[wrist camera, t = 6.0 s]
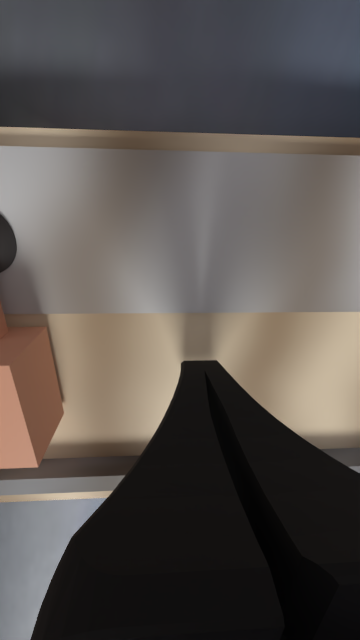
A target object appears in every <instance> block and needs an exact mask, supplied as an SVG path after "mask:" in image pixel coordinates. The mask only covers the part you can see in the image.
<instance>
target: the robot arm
mask: <svg viewBox="0 0 360 640" xmlns="http://www.w3.org/2000/svg"><path fill="white" fill-rule="evenodd" d="M31 640H360V473H358V472H356V471H355V470H353V469H351V468H349V467H348V466H346V465H344V464H343V463H341V462H339V461H338V460H336V459H334V458H333V457H331V456H329V455H328V454H326V453H325V452H323V451H322V450H320V449H319V448H317V447H315V446H314V445H312V444H311V443H309V442H308V441H306V440H305V439H303V438H302V437H301V436H299V435H298V434H296V433H295V432H294V431H292V430H291V429H290V428H288V427H287V426H286V425H284V424H283V423H282V422H280V421H279V420H278V419H277V418H275V417H274V416H273V415H272V414H270V413H269V412H268V411H267V410H266V409H265V408H263V407H262V406H261V405H260V404H259V403H258V402H257V401H256V400H254V399H253V398H252V397H251V396H250V395H249V394H248V393H247V392H246V391H245V390H244V389H243V388H242V387H241V386H240V385H239V384H238V383H237V382H236V380H235V379H234V378H233V377H232V376H231V375H230V374H229V373H228V372H227V371H226V370H225V368H224V367H223V366H222V365H221V364H220V363H219V362H218V361H217V360H193V361H183V362H182V363H181V372H180V377H179V380H178V384H177V387H176V389H175V392H174V395H173V398H172V400H171V402H170V404H169V407H168V409H167V411H166V413H165V415H164V417H163V419H162V421H161V423H160V425H159V426H158V428H157V430H156V432H155V433H154V435H153V437H152V438H151V440H150V441H149V443H148V445H147V446H146V448H145V449H144V451H143V452H142V454H141V455H140V457H139V458H138V459H137V461H136V462H135V464H134V465H133V466H132V468H131V469H130V470H129V471H128V473H127V474H126V475H125V476H124V478H123V479H122V480H121V482H120V483H119V484H118V485H117V487H116V488H115V489H114V490H113V492H112V493H111V494H110V495H109V496H108V498H107V499H106V500H105V501H104V502H103V503H102V504H101V505H100V507H99V508H98V509H97V510H96V511H95V512H94V513H93V514H92V515H91V516H90V518H89V519H88V520H87V521H86V522H85V523H84V524H83V525H82V526H81V527H80V529H79V530H78V531H77V532H76V533H75V534H74V535H73V536H72V538H71V540H70V542H69V544H68V546H67V548H66V550H65V552H64V554H63V556H62V558H61V560H60V562H59V564H58V566H57V569H56V571H55V573H54V575H53V578H52V580H51V582H50V585H49V587H48V590H47V593H46V595H45V598H44V600H43V602H42V605H41V608H40V611H39V614H38V617H37V621H36V624H35V627H34V630H33V634H32V637H31Z"/></svg>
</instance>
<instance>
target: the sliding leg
mask: <svg viewBox="0 0 360 640" xmlns="http://www.w3.org/2000/svg"><path fill="white" fill-rule="evenodd" d="M63 415H64V410H63V405H62V400H61V396H60V391H59V386H58V381H57V376H56V371H55V366H54V362H53V357H52V352H51V347H50V342H49V337H48V332H47V328H46V327H7V324H6V320H5V317H4V313H3V309H2V306H1V302H0V469H8V468H35V467H39V465H40V463H41V461H42V459H43V456H44V454H45V452H46V450H47V448H48V446H49V444H50V442H51V440H52V438H53V436H54V433H55V431H56V429H57V427H58V425H59V423H60V421H61V419H62V417H63Z"/></svg>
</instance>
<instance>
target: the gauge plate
mask: <svg viewBox="0 0 360 640" xmlns="http://www.w3.org/2000/svg"><path fill="white" fill-rule="evenodd" d="M0 302H1V306H2V309H3V313H4V317H5V320H6V324H7V327H46V328H47V332H48V337H49V342H50V347H51V352H52V357H53V362H54V366H55V371H56V376H57V381H58V386H59V391H60V396H61V400H62V405H63V410H64V415H63V417H62V419H61V421H60V423H59V425H58V427H57V429H56V431H55V433H54V436H53V438H52V440H51V442H50V444H49V446H48V448H47V450H46V452H45V454H44V456H43V459H42V461H41V463H40V465H39V467H35V468H8V469H0V502H18V501H41V500H64V499H87V498H108V496H109V495H110V494H111V493H112V492H113V490H114V489H115V488H116V487H117V485H118V484H119V483H120V482H121V480H122V479H123V478H124V476H125V475H126V474H127V473H128V471H129V470H130V469H131V468H132V466H133V465H134V464H135V462H136V461H137V459H138V458H139V457H140V455H141V454H142V452H143V451H144V449H145V448H146V446H147V445H148V443H149V441H150V440H151V438H152V437H153V435H154V433H155V432H156V430H157V428H158V426H159V425H160V423H161V421H162V419H163V417H164V415H165V413H166V411H167V409H168V407H169V404H170V402H171V400H172V398H173V395H174V392H175V389H176V387H177V384H178V380H179V377H180V372H181V363H182V362H183V361H193V360H217V361H218V362H219V363H220V364H221V365H222V366H223V367H224V368H225V370H226V371H227V372H228V373H229V374H230V375H231V376H232V377H233V378H234V379H235V380H236V382H237V383H238V384H239V385H240V386H241V387H242V388H243V389H244V390H245V391H246V392H247V393H248V394H249V395H250V396H251V397H252V398H253V399H254V400H256V401H257V402H258V403H259V404H260V405H261V406H262V407H263V408H265V409H266V410H267V411H268V412H269V413H270V414H272V415H273V416H274V417H275V418H277V419H278V420H279V421H280V422H282V423H283V424H284V425H286V426H287V427H288V428H290V429H291V430H292V431H294V432H295V433H296V434H298V435H299V436H301V437H302V438H303V439H305V440H306V441H308V442H309V443H311V444H312V445H314V446H315V447H317V448H319V449H320V450H322V451H323V452H325V453H326V454H328V455H329V456H331V457H333V458H334V459H336V460H338V461H339V462H341V463H343V464H344V465H346V466H348V467H349V468H351V469H353V470H355V471H356V472H358V473H360V138H347V137H315V136H283V135H250V134H218V133H185V132H153V131H121V130H88V129H56V128H24V127H0Z"/></svg>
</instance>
